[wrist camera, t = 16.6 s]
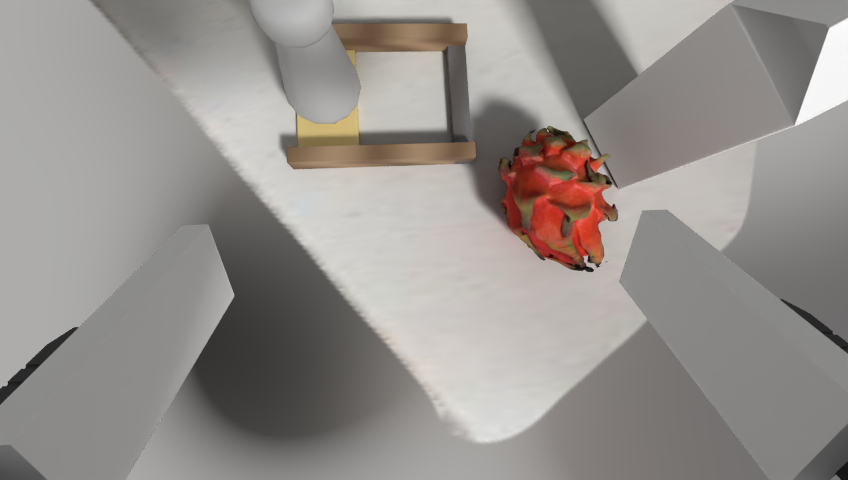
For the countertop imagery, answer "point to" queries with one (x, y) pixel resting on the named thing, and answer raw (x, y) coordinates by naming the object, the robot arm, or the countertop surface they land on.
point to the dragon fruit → (557, 198)
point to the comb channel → (403, 154)
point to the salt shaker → (310, 58)
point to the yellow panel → (330, 128)
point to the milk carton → (726, 86)
